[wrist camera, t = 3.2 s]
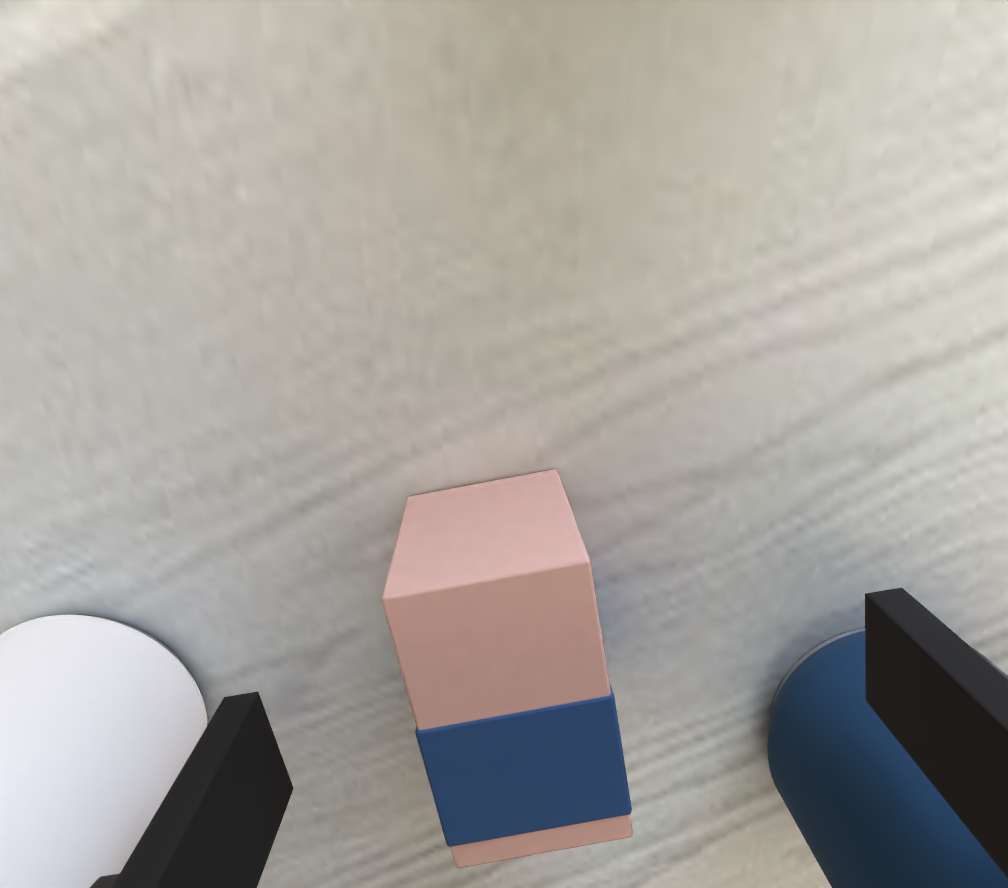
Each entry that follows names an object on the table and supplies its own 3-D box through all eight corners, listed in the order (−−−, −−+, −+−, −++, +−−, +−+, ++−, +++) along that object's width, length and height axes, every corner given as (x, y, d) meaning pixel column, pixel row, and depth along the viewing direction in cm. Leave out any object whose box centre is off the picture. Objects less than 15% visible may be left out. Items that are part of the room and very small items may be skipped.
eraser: (458, 709, 19) (453, 872, 14) (405, 495, 17) (376, 600, 12) (594, 684, 19) (636, 840, 14) (558, 466, 17) (593, 559, 12)
